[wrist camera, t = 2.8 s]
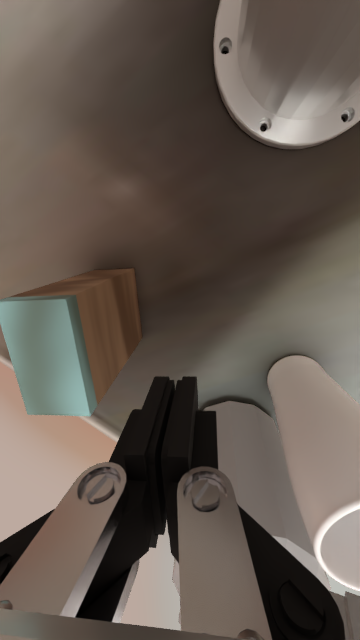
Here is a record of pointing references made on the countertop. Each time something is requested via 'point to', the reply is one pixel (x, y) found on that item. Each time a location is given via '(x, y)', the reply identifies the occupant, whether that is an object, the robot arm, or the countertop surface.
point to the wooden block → (71, 339)
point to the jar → (260, 480)
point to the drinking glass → (321, 460)
